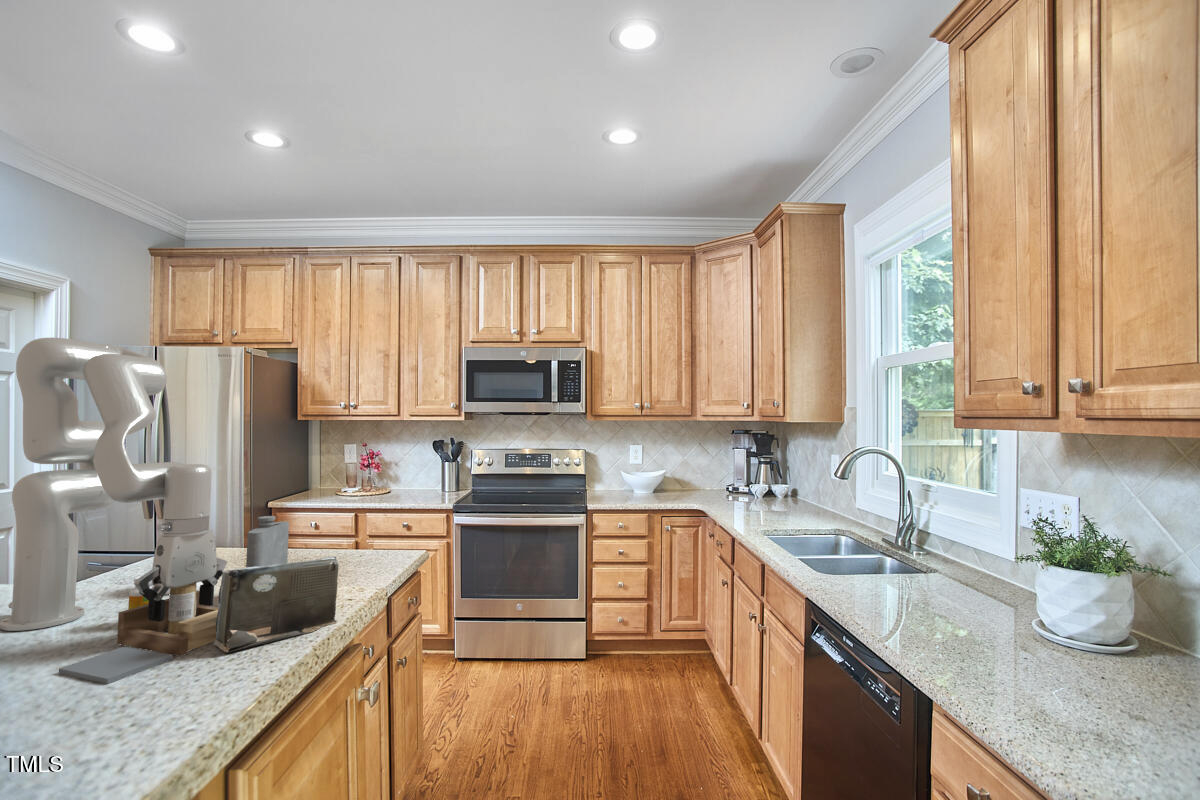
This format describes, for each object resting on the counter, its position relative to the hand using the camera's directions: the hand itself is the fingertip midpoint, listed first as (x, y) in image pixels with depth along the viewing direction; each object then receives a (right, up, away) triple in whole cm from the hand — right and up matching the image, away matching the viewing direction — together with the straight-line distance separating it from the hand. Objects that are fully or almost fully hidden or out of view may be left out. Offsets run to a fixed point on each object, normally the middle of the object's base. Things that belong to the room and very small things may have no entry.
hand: (182, 612), depth 110 cm
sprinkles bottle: (0, -5, 0) cm, 5 cm away
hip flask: (+3, -6, +22) cm, 23 cm away
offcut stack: (+7, -4, -3) cm, 9 cm away
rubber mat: (0, -4, -15) cm, 15 cm away
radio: (+19, -5, +1) cm, 19 cm away
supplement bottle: (-12, -5, +6) cm, 14 cm away
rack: (+1, -4, -1) cm, 5 cm away
